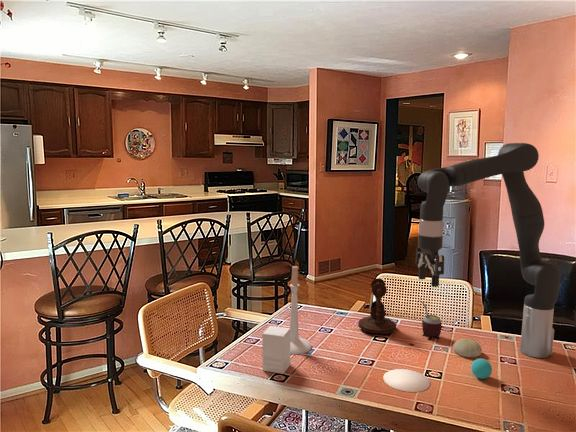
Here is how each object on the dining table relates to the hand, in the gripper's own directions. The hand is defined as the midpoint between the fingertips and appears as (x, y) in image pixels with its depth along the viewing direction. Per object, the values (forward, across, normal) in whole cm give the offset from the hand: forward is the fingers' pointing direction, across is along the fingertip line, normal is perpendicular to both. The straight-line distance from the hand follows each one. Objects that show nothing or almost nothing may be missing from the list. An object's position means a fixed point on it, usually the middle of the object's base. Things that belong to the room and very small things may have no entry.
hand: (428, 282), depth 151 cm
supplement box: (+28, +6, +49) cm, 57 cm away
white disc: (+28, -10, +11) cm, 31 cm away
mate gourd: (+28, +20, -13) cm, 37 cm away
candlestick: (+28, +21, +40) cm, 53 cm away
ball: (+25, -12, -13) cm, 31 cm away
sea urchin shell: (+28, +5, -19) cm, 34 cm away
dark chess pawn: (+28, +31, +4) cm, 42 cm away
